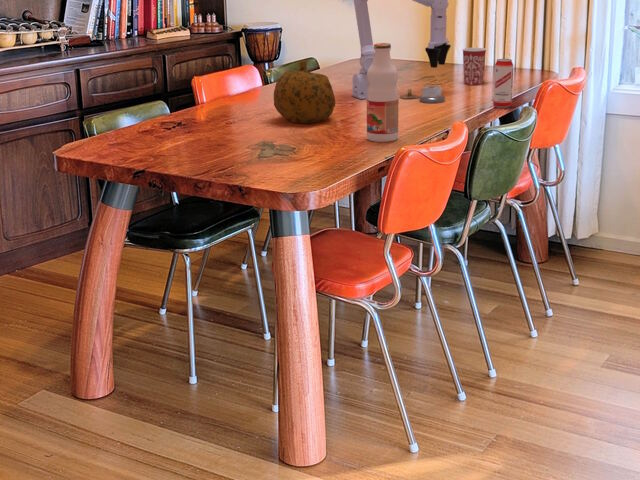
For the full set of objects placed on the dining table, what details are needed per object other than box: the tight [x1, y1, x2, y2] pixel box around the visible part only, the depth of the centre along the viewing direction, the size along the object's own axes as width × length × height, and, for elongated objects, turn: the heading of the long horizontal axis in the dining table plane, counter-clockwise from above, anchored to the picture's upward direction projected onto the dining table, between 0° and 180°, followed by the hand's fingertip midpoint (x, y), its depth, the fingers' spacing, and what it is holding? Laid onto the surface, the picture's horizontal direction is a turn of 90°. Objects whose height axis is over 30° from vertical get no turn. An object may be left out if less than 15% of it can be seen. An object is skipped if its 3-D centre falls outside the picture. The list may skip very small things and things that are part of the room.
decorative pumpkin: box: [273, 60, 336, 125], centre depth 299 cm, size 20×21×20 cm
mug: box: [462, 47, 487, 86], centre depth 359 cm, size 13×9×14 cm
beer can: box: [492, 58, 514, 109], centre depth 312 cm, size 6×6×16 cm
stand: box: [399, 88, 420, 100], centre depth 335 cm, size 7×7×3 cm
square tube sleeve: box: [421, 85, 443, 99], centre depth 327 cm, size 5×5×4 cm
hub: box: [419, 94, 446, 104], centre depth 328 cm, size 9×9×4 cm
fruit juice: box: [366, 42, 400, 143], centre depth 269 cm, size 9×9×28 cm
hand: (437, 65), depth 337 cm, fingers open, 7 cm apart
